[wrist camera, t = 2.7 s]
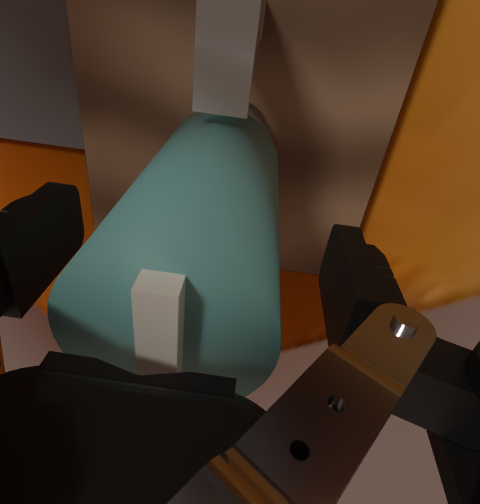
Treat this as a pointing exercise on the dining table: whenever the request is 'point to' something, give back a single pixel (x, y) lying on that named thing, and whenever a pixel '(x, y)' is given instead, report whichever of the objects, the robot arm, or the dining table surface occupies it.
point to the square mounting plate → (250, 94)
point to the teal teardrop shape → (184, 262)
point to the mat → (38, 74)
